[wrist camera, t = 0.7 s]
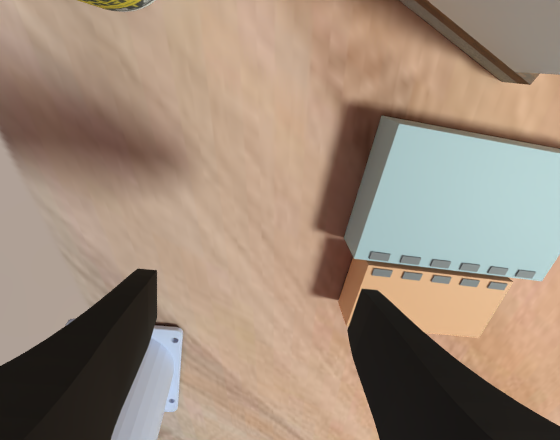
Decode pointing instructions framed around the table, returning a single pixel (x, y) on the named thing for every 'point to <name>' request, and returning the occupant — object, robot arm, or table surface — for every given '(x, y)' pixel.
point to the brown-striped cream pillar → (500, 33)
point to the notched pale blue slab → (457, 202)
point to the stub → (428, 295)
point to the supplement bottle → (119, 4)
